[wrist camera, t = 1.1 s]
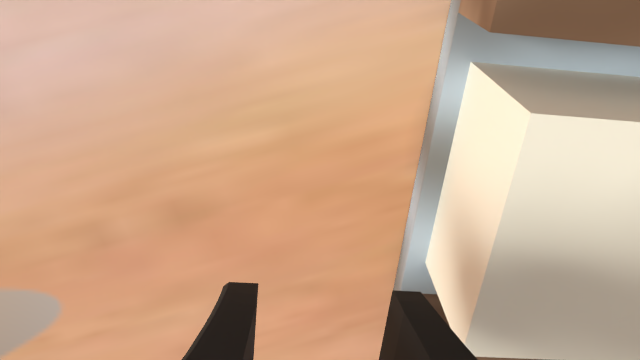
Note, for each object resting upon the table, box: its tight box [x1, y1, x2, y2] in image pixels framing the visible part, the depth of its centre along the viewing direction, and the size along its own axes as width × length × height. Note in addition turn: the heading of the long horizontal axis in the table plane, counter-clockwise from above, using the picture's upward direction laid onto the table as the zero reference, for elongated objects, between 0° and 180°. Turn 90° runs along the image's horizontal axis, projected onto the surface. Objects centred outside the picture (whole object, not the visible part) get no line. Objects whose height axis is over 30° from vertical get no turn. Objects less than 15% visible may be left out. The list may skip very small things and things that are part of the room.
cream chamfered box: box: [425, 62, 640, 360], centre depth 18 cm, size 8×8×5 cm
